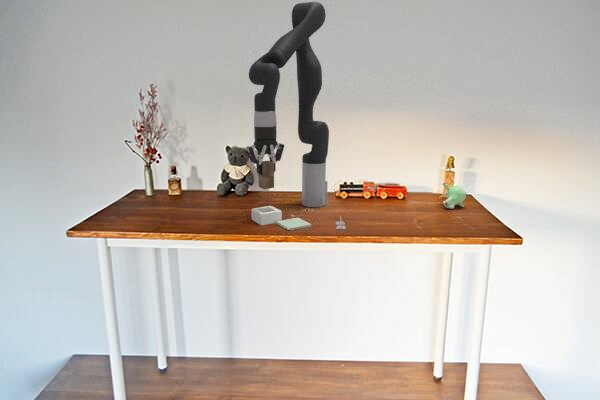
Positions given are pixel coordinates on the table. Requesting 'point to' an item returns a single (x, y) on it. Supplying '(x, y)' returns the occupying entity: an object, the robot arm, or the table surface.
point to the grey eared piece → (340, 224)
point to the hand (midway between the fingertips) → (266, 173)
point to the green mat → (293, 224)
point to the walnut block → (267, 175)
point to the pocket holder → (266, 215)
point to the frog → (453, 196)
